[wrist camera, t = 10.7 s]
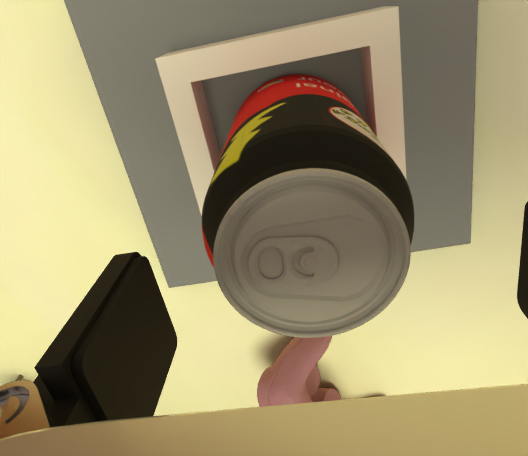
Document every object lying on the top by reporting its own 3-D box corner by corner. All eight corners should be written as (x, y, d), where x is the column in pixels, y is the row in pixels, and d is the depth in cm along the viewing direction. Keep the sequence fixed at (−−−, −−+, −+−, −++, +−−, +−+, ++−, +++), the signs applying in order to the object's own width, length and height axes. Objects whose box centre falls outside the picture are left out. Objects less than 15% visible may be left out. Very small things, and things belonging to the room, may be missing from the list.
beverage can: (356, 190, 23) (422, 350, 12) (239, 196, 23) (207, 357, 13) (359, 66, 20) (450, 137, 9) (226, 75, 20) (170, 154, 10)
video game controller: (276, 319, 30) (232, 408, 26) (330, 314, 27) (290, 414, 23) (342, 401, 34) (314, 492, 29) (396, 405, 31) (373, 507, 26)
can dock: (472, -95, 18) (511, -114, 15) (465, 236, 25) (489, 267, 22) (71, 0, 20) (35, -1, 17) (171, 280, 27) (158, 313, 24)
